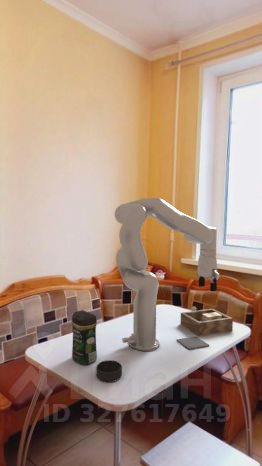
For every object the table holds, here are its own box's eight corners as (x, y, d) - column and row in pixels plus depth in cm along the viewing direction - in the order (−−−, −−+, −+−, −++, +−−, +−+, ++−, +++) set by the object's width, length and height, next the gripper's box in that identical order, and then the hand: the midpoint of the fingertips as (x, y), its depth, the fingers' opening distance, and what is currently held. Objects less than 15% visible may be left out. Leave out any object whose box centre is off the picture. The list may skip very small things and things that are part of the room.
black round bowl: (127, 376, 113) (127, 365, 113) (107, 386, 107) (107, 374, 106) (110, 367, 119) (110, 357, 119) (90, 376, 113) (90, 365, 113)
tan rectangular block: (208, 323, 157) (208, 317, 157) (202, 319, 162) (202, 313, 161) (221, 321, 160) (222, 315, 160) (215, 317, 165) (215, 312, 164)
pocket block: (198, 336, 149) (198, 323, 148) (180, 324, 164) (180, 312, 163) (232, 330, 156) (232, 318, 155) (212, 319, 171) (212, 308, 170)
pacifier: (194, 321, 168) (201, 318, 172) (194, 309, 168) (201, 307, 172) (183, 318, 174) (190, 315, 178) (183, 306, 173) (190, 304, 177)
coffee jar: (68, 358, 126) (68, 311, 125) (86, 352, 131) (85, 307, 130) (82, 367, 119) (82, 317, 117) (100, 361, 124) (100, 313, 122)
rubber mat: (188, 349, 134) (188, 348, 134) (176, 340, 143) (176, 339, 143) (209, 346, 138) (209, 344, 138) (196, 337, 147) (196, 336, 147)
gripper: (191, 251, 161) (191, 285, 163) (212, 256, 145) (211, 293, 147) (204, 250, 164) (203, 284, 165) (226, 255, 148) (225, 292, 149)
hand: (207, 288), depth 156 cm, fingers open, 9 cm apart
